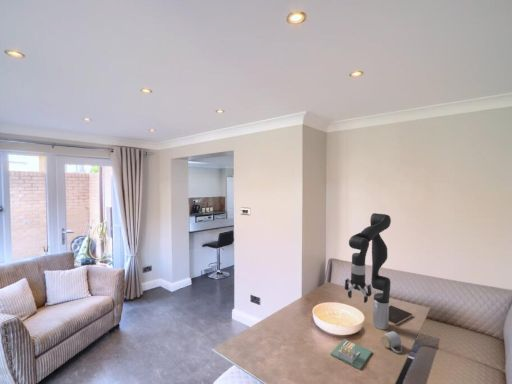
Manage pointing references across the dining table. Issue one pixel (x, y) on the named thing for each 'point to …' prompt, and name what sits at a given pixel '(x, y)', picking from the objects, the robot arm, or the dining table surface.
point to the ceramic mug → (391, 341)
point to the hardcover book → (397, 315)
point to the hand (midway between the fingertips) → (357, 300)
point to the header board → (357, 349)
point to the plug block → (349, 348)
